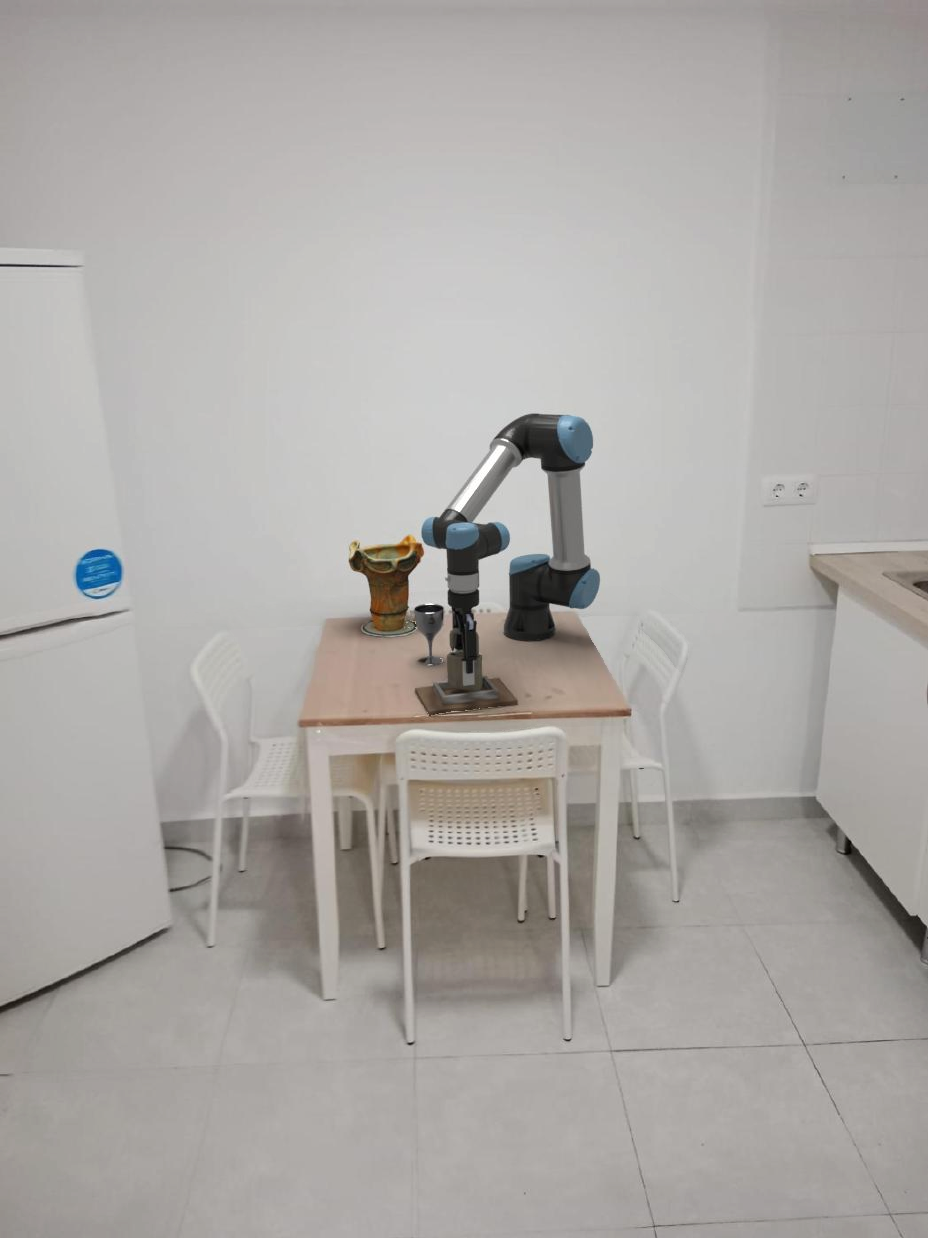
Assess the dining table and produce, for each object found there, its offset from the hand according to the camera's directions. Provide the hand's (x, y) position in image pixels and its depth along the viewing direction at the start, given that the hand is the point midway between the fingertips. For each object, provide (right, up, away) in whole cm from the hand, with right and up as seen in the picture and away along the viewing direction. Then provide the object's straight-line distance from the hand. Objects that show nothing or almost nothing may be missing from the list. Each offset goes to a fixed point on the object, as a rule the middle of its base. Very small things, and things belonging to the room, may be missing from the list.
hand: (465, 679), depth 230 cm
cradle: (0, -5, +2) cm, 5 cm away
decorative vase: (-22, +12, +54) cm, 60 cm away
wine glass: (-9, +3, +27) cm, 29 cm away
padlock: (0, -2, +1) cm, 2 cm away
